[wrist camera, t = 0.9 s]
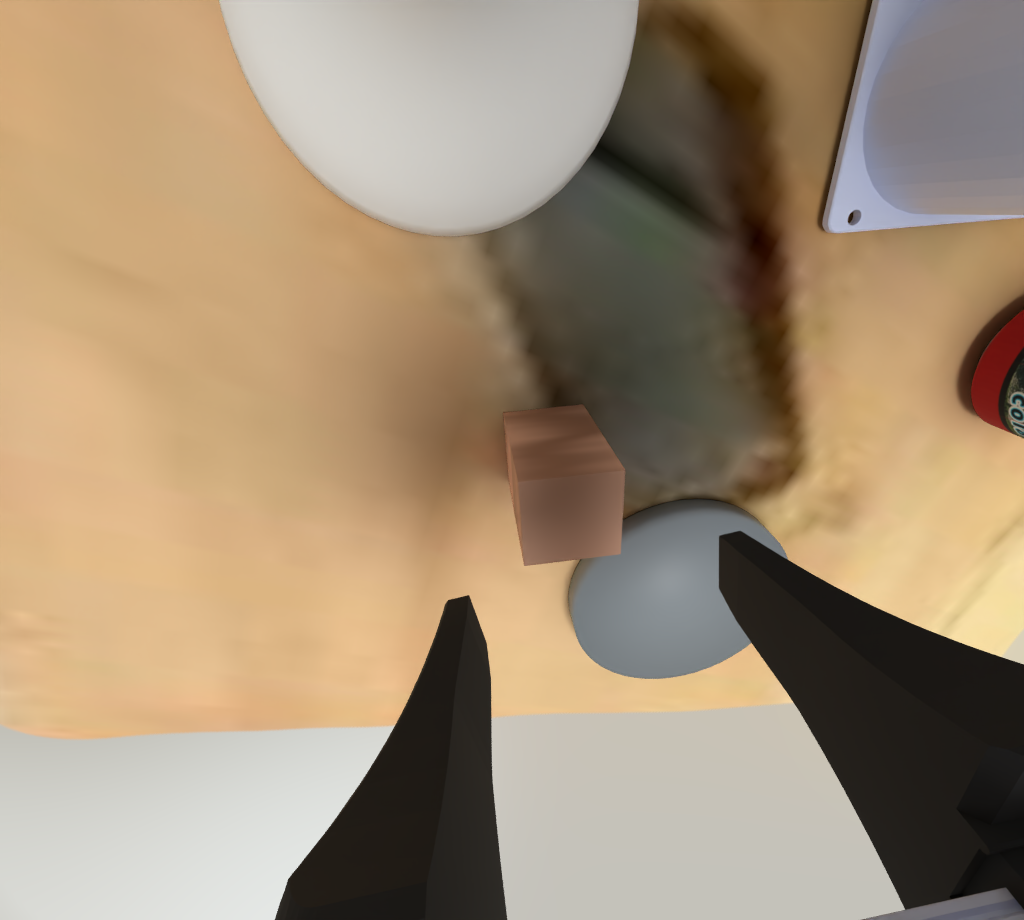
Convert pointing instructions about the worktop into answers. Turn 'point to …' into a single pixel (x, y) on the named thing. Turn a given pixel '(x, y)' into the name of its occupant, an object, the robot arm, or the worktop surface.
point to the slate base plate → (662, 592)
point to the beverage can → (1002, 379)
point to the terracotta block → (563, 485)
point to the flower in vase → (437, 98)
